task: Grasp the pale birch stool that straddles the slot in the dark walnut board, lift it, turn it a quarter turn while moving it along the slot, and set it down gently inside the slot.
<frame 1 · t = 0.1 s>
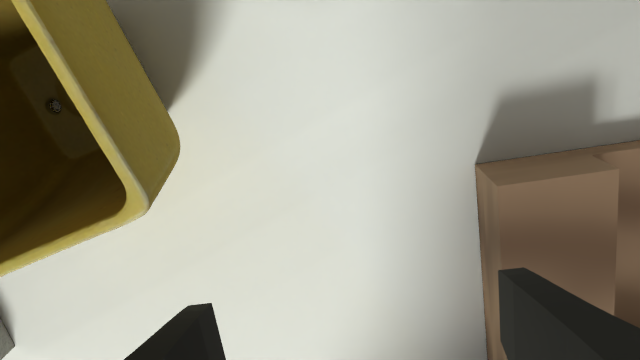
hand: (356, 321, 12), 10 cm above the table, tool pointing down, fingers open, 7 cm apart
flower pot: (93, 86, 20), on the table
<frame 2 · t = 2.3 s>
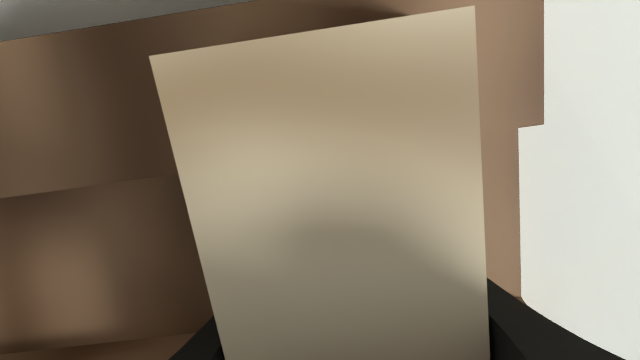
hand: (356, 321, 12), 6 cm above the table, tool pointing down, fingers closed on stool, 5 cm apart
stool: (351, 257, 15), point 3 cm above the table, touching board, gripper
board: (220, 236, 18), on the table
when the fingers open (5 cm above the table, at t = 6.5 s): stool stays where it is, resting on board.
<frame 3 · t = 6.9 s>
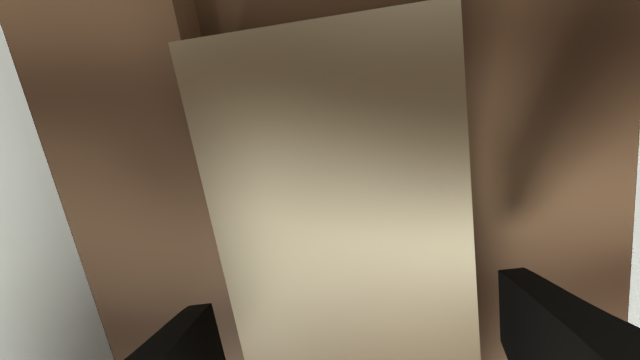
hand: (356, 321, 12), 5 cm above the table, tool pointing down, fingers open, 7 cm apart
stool: (351, 240, 16), point 1 cm above the table, touching board
board: (356, 281, 17), on the table
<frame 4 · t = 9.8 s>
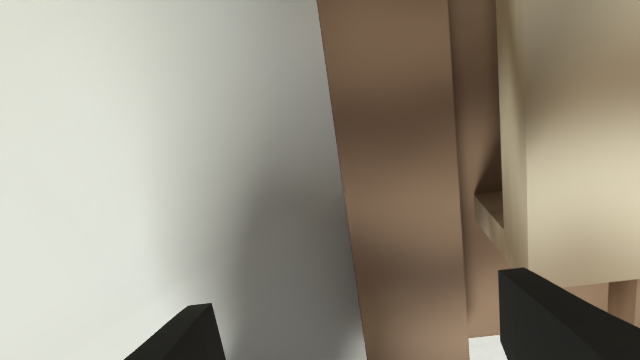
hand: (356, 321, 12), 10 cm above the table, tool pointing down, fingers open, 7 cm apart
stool: (529, 50, 19), point 1 cm above the table, touching board
board: (519, 101, 20), on the table
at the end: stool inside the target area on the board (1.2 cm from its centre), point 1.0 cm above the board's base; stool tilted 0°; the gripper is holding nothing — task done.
